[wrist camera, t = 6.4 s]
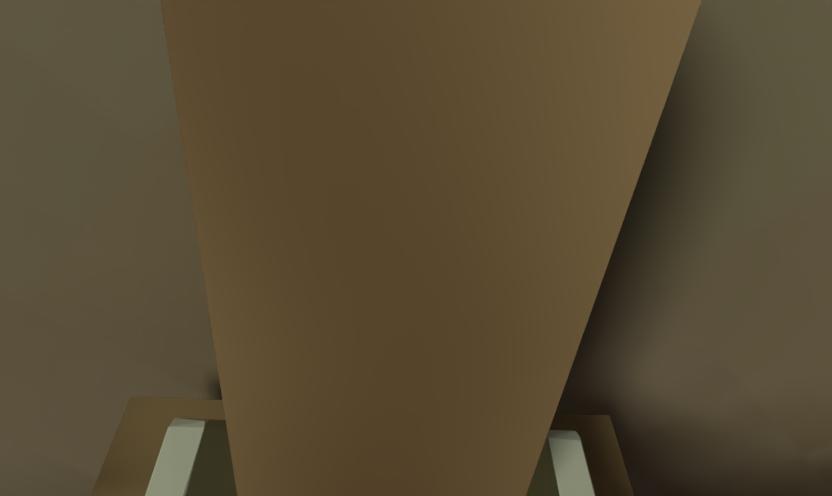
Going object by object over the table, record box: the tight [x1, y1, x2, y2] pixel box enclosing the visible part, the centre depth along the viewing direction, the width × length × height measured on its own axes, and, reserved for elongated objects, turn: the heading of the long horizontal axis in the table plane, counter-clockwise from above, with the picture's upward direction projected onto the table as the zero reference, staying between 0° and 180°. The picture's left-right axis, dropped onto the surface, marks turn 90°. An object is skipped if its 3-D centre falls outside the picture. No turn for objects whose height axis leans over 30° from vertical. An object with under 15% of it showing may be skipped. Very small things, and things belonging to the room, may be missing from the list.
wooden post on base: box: [91, 0, 702, 496], centre depth 7 cm, size 9×11×5 cm
